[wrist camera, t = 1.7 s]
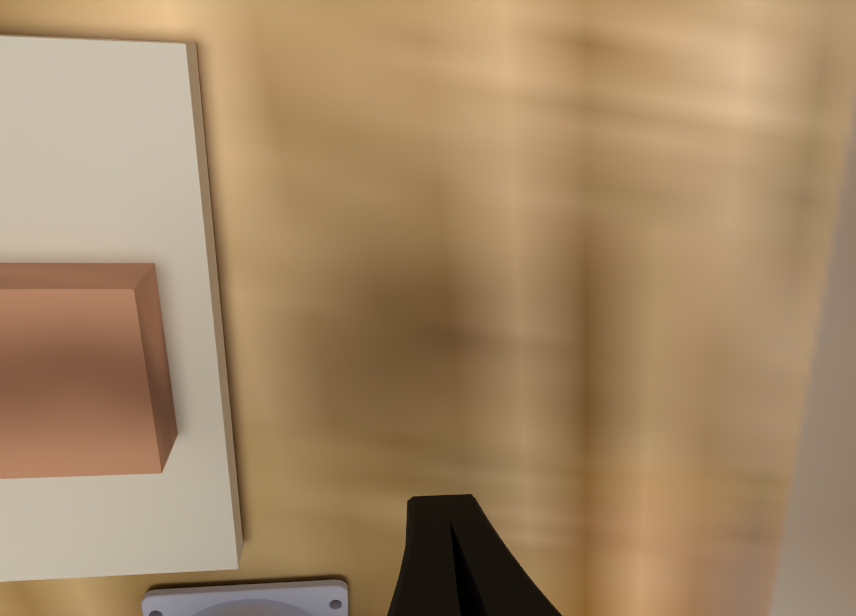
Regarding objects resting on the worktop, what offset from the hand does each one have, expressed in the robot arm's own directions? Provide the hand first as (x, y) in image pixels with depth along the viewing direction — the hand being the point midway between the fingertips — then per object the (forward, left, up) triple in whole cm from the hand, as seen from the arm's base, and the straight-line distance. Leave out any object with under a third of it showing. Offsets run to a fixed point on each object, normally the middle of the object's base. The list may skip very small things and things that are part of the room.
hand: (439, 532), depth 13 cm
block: (0, +12, -8) cm, 14 cm away
